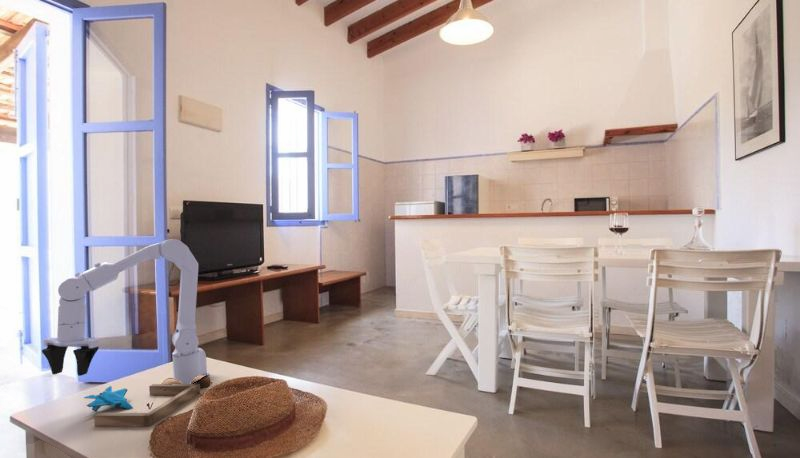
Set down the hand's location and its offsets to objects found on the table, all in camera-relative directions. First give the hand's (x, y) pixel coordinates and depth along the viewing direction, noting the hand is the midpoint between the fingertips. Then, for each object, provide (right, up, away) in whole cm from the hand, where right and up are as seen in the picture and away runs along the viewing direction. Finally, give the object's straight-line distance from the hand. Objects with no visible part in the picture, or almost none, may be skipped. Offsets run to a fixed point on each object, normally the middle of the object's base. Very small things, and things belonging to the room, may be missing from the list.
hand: (69, 373), depth 105 cm
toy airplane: (+12, -9, -1) cm, 15 cm away
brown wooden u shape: (+23, -8, -2) cm, 24 cm away
